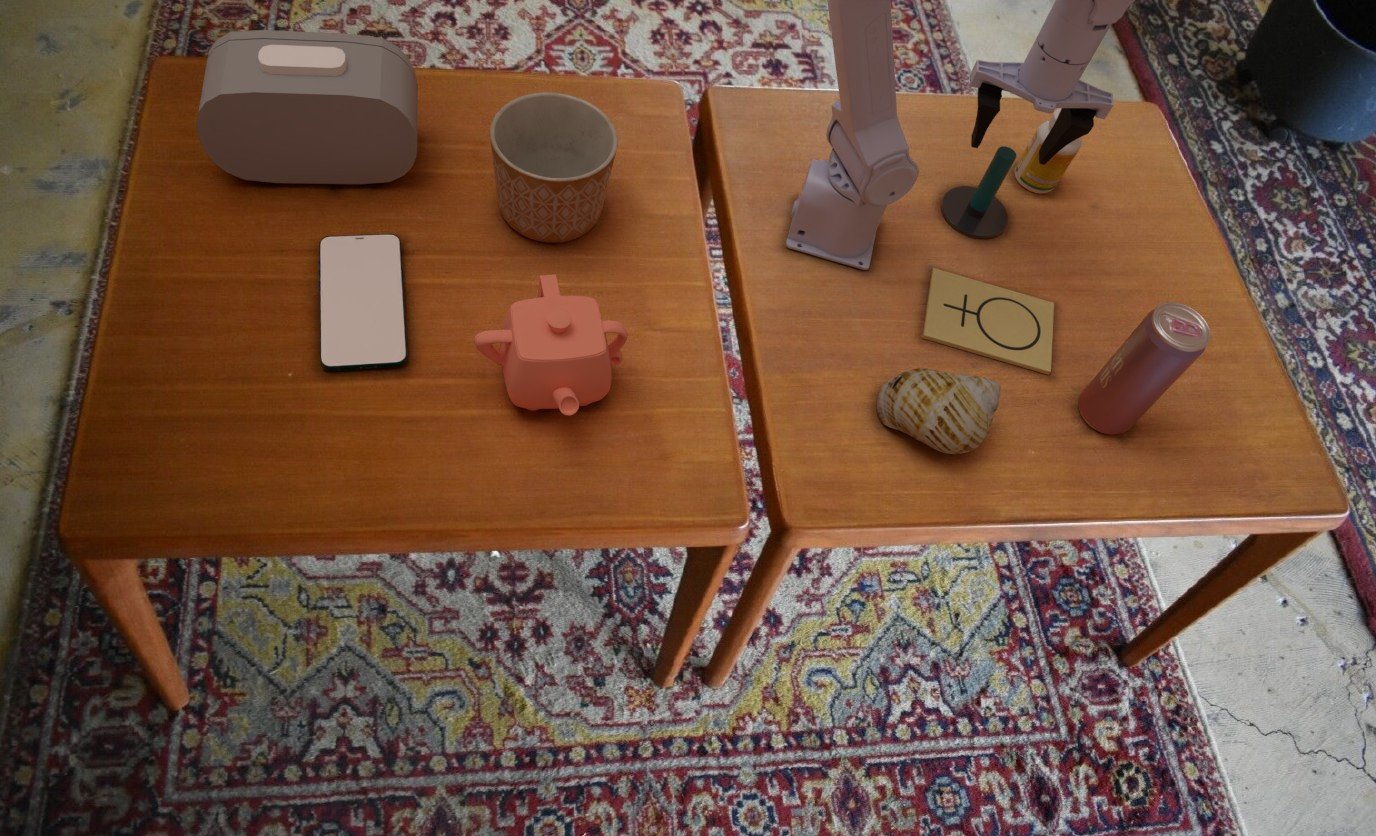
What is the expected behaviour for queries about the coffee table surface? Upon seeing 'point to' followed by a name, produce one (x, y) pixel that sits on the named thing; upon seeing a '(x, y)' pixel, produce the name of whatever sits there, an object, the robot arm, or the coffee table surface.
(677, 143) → the coffee table surface
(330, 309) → the smartphone
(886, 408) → the seashell
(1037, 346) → the sign with female symbol
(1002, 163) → the dark green cylinder
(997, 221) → the coaster
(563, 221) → the planter
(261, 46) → the alarm clock
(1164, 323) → the beverage can
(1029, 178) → the supplement bottle
